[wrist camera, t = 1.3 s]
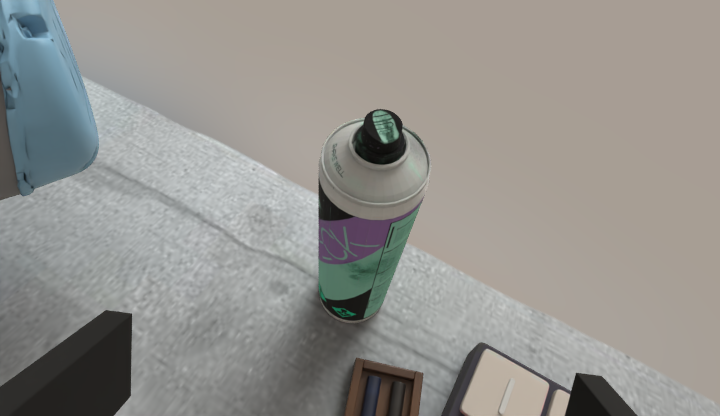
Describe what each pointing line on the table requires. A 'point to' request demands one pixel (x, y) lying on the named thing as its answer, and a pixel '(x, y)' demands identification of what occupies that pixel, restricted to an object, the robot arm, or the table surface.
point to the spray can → (366, 210)
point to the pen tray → (383, 390)
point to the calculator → (503, 388)
